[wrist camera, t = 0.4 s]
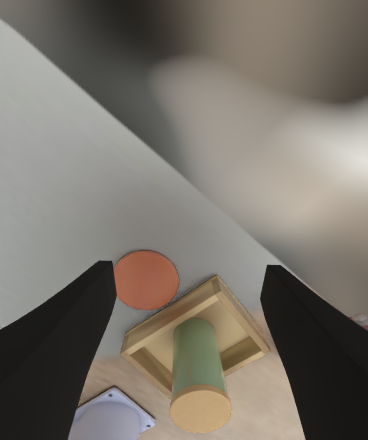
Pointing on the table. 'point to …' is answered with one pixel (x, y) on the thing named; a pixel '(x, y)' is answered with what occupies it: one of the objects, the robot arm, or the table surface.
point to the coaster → (145, 280)
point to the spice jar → (198, 379)
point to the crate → (187, 309)
